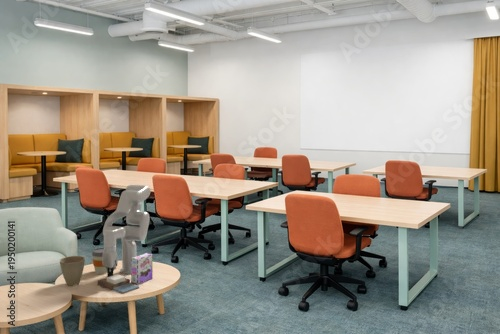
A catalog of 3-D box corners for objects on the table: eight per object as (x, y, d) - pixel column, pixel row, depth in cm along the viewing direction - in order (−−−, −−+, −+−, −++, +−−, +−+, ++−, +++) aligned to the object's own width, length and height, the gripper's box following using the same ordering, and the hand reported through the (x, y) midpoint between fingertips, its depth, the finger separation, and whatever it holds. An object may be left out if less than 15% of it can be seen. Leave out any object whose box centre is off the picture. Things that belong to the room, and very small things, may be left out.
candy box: (137, 284, 288) (137, 259, 286) (130, 282, 291) (130, 257, 289) (152, 278, 300) (152, 254, 298) (146, 276, 303) (146, 252, 301)
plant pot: (66, 279, 295) (66, 255, 293) (89, 280, 294) (88, 256, 293) (55, 287, 280) (55, 262, 279) (79, 288, 279) (78, 263, 278)
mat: (128, 284, 288) (128, 282, 288) (139, 288, 282) (139, 286, 282) (112, 289, 278) (112, 288, 278) (123, 293, 272) (123, 292, 272)
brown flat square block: (115, 279, 297) (115, 274, 296) (129, 284, 288) (129, 279, 288) (97, 285, 285) (97, 280, 285) (111, 290, 277) (111, 285, 277)
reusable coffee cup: (108, 274, 305) (107, 253, 304) (89, 274, 305) (89, 252, 304) (114, 269, 318) (113, 247, 316) (96, 268, 318) (95, 247, 317)
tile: (117, 278, 291) (117, 274, 290) (125, 280, 286) (125, 276, 286) (106, 281, 284) (106, 277, 284) (114, 284, 279) (114, 280, 279)
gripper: (97, 247, 288) (98, 276, 290) (112, 252, 279) (112, 281, 281) (107, 245, 294) (108, 273, 296) (122, 249, 285) (122, 278, 287)
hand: (110, 277), depth 288 cm, fingers closed
